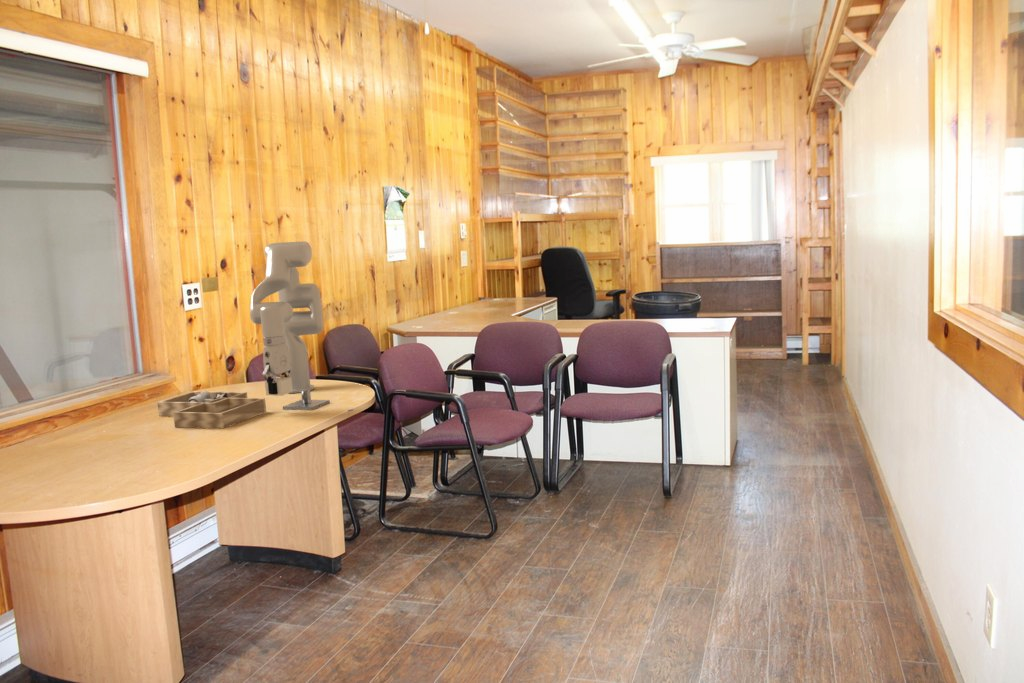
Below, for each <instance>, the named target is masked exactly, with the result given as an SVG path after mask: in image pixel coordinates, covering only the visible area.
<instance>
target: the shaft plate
mask: <svg viewBox="0 0 1024 683" xmlns="http://www.w3.org/2000/svg"><path fill="white" fill-rule="evenodd" d="M300 393H301V399H299V400H295V401H294V402H291V403H289V404H286V405H283V406H282V410H294V411H296V410H297V411H298V410H301V411H313V410H315V409H318V408H320V407H323V406H326V405H328V404H331V403H330V402H331V401H330V399H312V398H311V397H312V395H311V391H309V390H305V391H301V392H300Z"/></svg>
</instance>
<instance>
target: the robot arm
mask: <svg viewBox="0 0 1024 683" xmlns="http://www.w3.org/2000/svg"><path fill="white" fill-rule="evenodd" d="M264 255H265V258H266V264H265V275H264V276H265V278H264V279H263V280H262V281H260V283H259V284H258V285H257V286H256V287H255V288H254V290H253V292H252V294H251V296H250V305H249V316H250V320H251V322H252V323H253V324H256V325H261V334H262V343H263V344H262V345H263V350H262V351H263V352H262V353H263V356H262V359H263V369H264V370H263V372H262V374H261V375H262V376H261V377H263V378H264V381H267V383H268V390H269V394H278V392H277V383H275V381H276V377H277V376H278V375H279V376H280V375H285V377H291V379H292V390H293V391H292V392H290V393H289V394H297V393H299V394H300V393H301V391H305V390H309V391H310V392H311V391H313V390H315V385H314V384H311V377H310V367H309V365H310V364H309V356H308V346H307V344H306V342H305V341H304V340H303V339H302V337H300V336H310V335H311V336H312V335H319V334H321V333H322V332H323V330H324V316H323V314H324V313H323V306H322V297H321V296H322V295H321V292H320V288H319V286H318V285H317V284H316V283H310V282H309V283H301V281H300V275H299V274H300V273H299V271H298V269H297V268H301V267H307V266H308V265H309V264H310V262H311V260H312V257H313V250H312V247H311V244H310V243H309V242H307V241H287V242H285V241H284V242H281V241H280V242H272V243H269V244H267V245H266V246H265V247H264ZM275 293H278V301H273V302H272V301H269V302H268V301H267V302H262V301H263V300H265V299H266V298H268V297H269V296H271V295H273V294H275ZM294 309H308V310H302V311H301V310H300V311H298V310H297V311H296V310H295V311H294Z"/></svg>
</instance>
